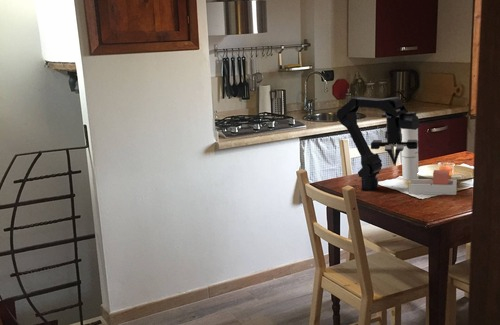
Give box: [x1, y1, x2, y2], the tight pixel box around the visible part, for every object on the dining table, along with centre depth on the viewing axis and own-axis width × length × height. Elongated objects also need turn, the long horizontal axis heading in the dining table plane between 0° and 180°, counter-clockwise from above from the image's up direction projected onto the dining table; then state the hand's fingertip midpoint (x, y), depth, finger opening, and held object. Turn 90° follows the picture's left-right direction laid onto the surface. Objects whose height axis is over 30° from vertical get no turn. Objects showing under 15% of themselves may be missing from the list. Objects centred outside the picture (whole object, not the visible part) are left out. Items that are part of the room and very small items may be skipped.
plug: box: [432, 169, 450, 185], centre depth 219 cm, size 6×6×8 cm
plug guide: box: [408, 178, 458, 196], centre depth 221 cm, size 19×9×4 cm, turn 68°
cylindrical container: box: [401, 127, 420, 181], centre depth 240 cm, size 7×7×25 cm
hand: (394, 164), depth 220 cm, fingers closed
